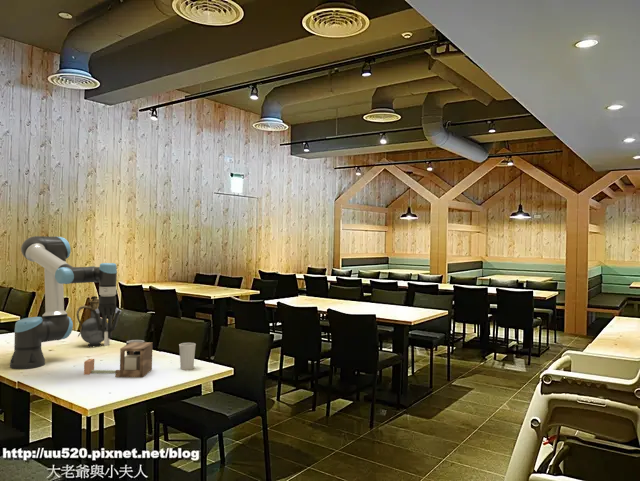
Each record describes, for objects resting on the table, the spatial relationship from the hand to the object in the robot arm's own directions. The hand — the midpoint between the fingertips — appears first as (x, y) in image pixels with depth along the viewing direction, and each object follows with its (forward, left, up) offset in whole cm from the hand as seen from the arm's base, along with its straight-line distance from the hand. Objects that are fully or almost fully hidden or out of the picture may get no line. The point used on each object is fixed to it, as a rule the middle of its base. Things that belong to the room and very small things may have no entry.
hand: (106, 345), depth 239 cm
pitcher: (-31, +64, -13) cm, 73 cm away
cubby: (+13, 0, -13) cm, 18 cm away
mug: (+7, +27, -13) cm, 31 cm away
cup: (+36, +10, -13) cm, 39 cm away
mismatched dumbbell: (+3, 0, -13) cm, 13 cm away
